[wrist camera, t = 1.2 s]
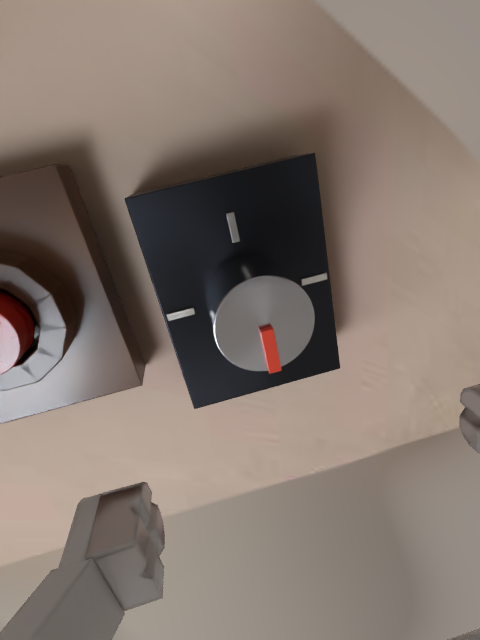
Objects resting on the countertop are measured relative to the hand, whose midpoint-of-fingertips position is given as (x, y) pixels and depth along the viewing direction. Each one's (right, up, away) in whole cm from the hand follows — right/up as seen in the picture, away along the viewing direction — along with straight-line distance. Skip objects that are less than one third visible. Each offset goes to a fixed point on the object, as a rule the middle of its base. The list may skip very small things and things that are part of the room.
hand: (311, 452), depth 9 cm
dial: (-1, +5, +10) cm, 11 cm away
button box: (-14, +4, +11) cm, 18 cm away
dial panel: (-2, +6, +13) cm, 14 cm away
